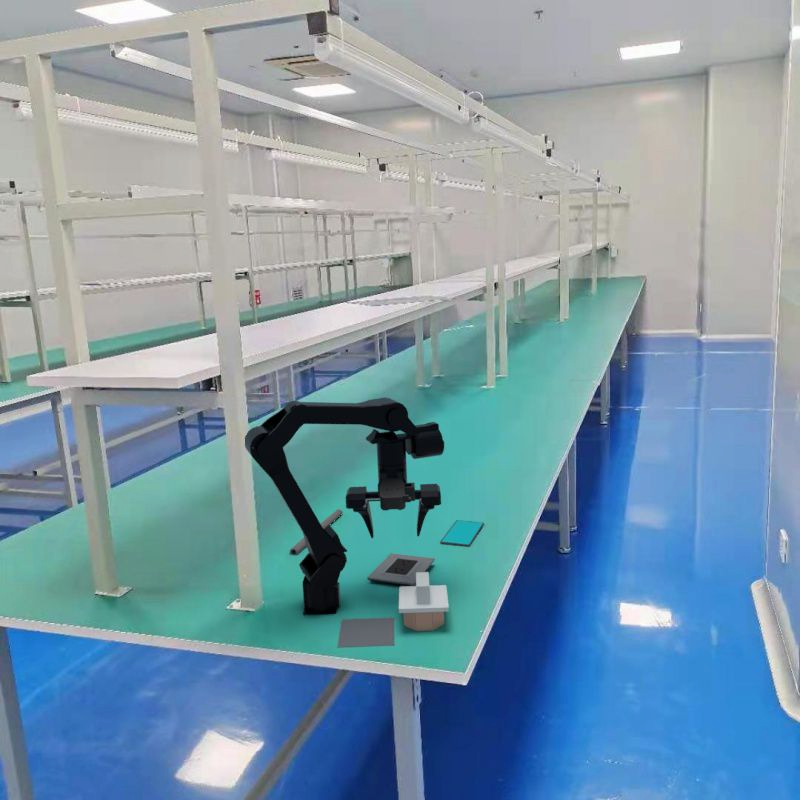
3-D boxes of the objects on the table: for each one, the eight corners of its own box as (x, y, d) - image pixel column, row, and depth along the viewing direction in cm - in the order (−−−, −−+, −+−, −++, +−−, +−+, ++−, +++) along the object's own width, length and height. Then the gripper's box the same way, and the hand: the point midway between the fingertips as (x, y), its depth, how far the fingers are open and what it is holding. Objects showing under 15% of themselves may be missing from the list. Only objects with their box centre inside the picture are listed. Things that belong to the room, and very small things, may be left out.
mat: (337, 649, 127) (337, 647, 127) (341, 621, 137) (341, 619, 137) (394, 647, 127) (394, 645, 127) (394, 619, 137) (394, 617, 137)
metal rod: (290, 555, 170) (289, 547, 169) (336, 515, 195) (335, 508, 194) (297, 556, 169) (296, 548, 168) (342, 516, 194) (342, 509, 194)
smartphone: (439, 542, 172) (456, 520, 186) (439, 545, 172) (456, 523, 186) (469, 545, 169) (484, 522, 183) (469, 548, 170) (484, 525, 183)
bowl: (404, 633, 132) (403, 611, 131) (403, 614, 139) (402, 592, 138) (445, 632, 132) (444, 609, 131) (442, 612, 139) (442, 590, 138)
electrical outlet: (414, 593, 148) (413, 582, 148) (367, 586, 152) (366, 576, 152) (435, 567, 160) (434, 557, 160) (391, 561, 164) (390, 552, 164)
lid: (398, 613, 130) (397, 590, 130) (399, 590, 139) (398, 569, 138) (448, 611, 130) (448, 589, 129) (446, 588, 139) (445, 568, 138)
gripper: (341, 476, 135) (346, 554, 138) (441, 472, 135) (443, 550, 138) (345, 459, 146) (350, 532, 149) (438, 455, 146) (440, 529, 149)
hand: (395, 536), depth 146 cm, fingers open, 9 cm apart
